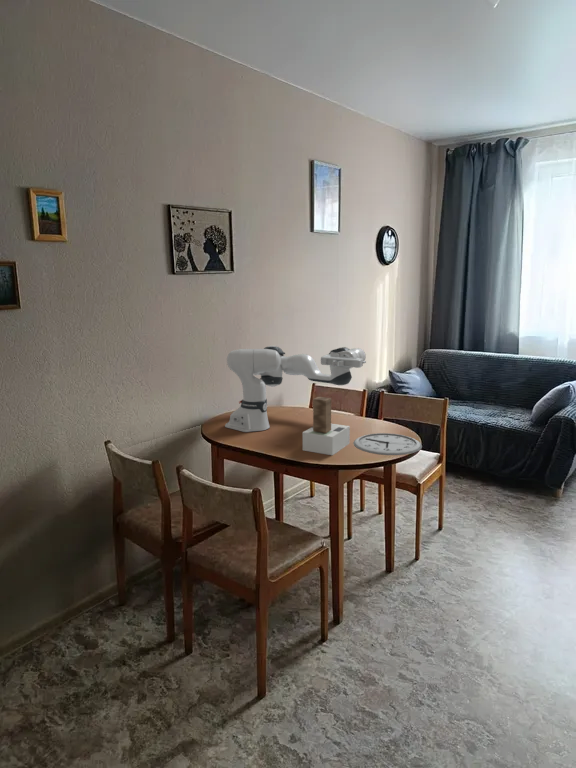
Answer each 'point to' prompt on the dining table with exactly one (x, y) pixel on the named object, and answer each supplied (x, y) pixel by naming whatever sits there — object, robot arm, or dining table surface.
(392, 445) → the wall clock
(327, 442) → the box
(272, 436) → the dining table surface
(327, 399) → the walnut post
